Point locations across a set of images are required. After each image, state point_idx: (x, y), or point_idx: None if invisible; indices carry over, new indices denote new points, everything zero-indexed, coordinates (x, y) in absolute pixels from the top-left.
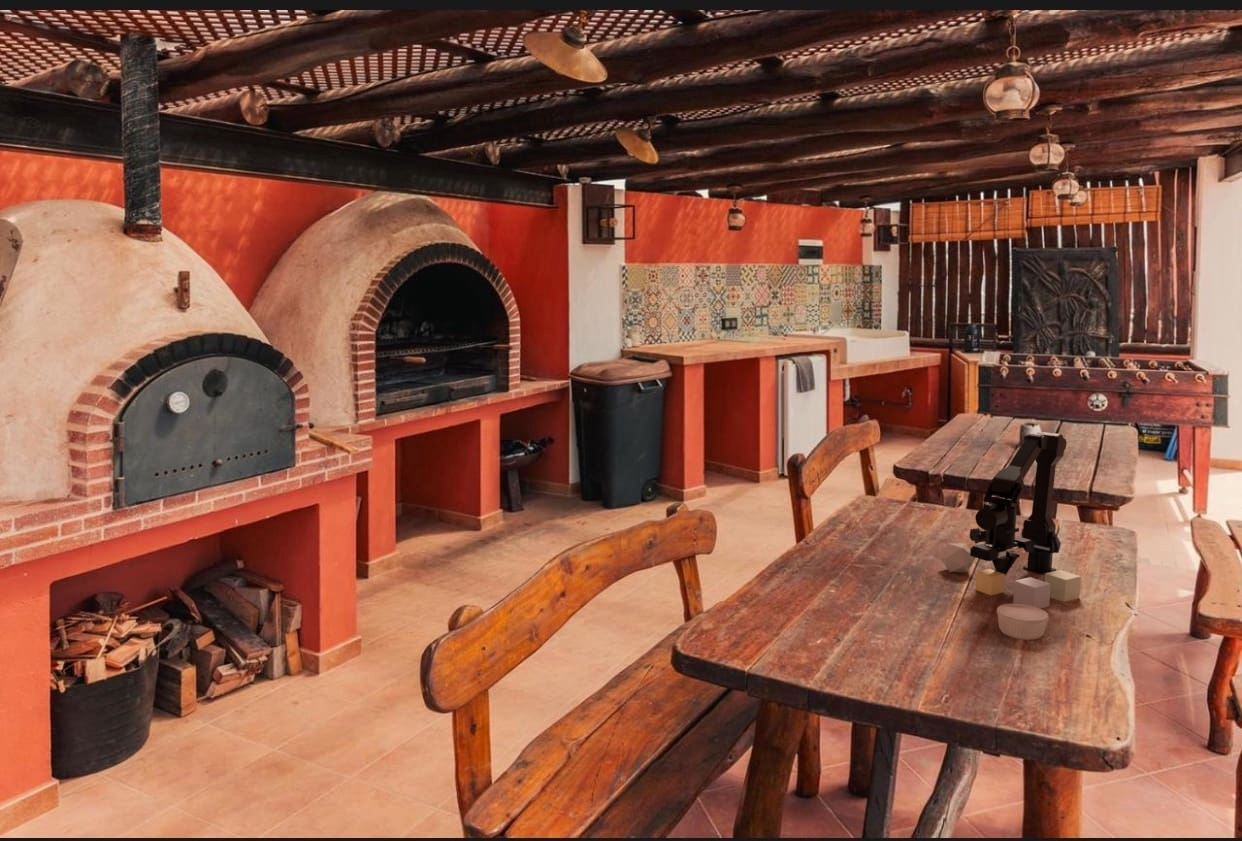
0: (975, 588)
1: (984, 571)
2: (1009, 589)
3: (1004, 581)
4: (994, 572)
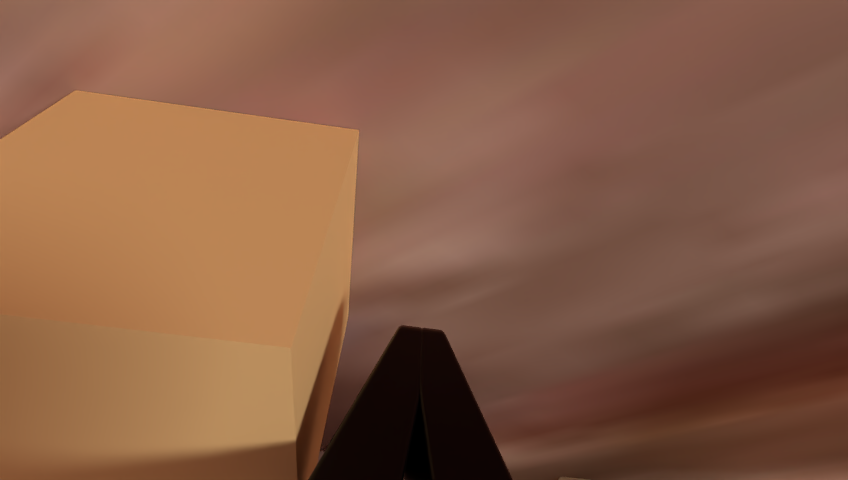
0: (61, 100)
1: (29, 365)
2: (480, 312)
3: (324, 428)
4: (200, 466)
